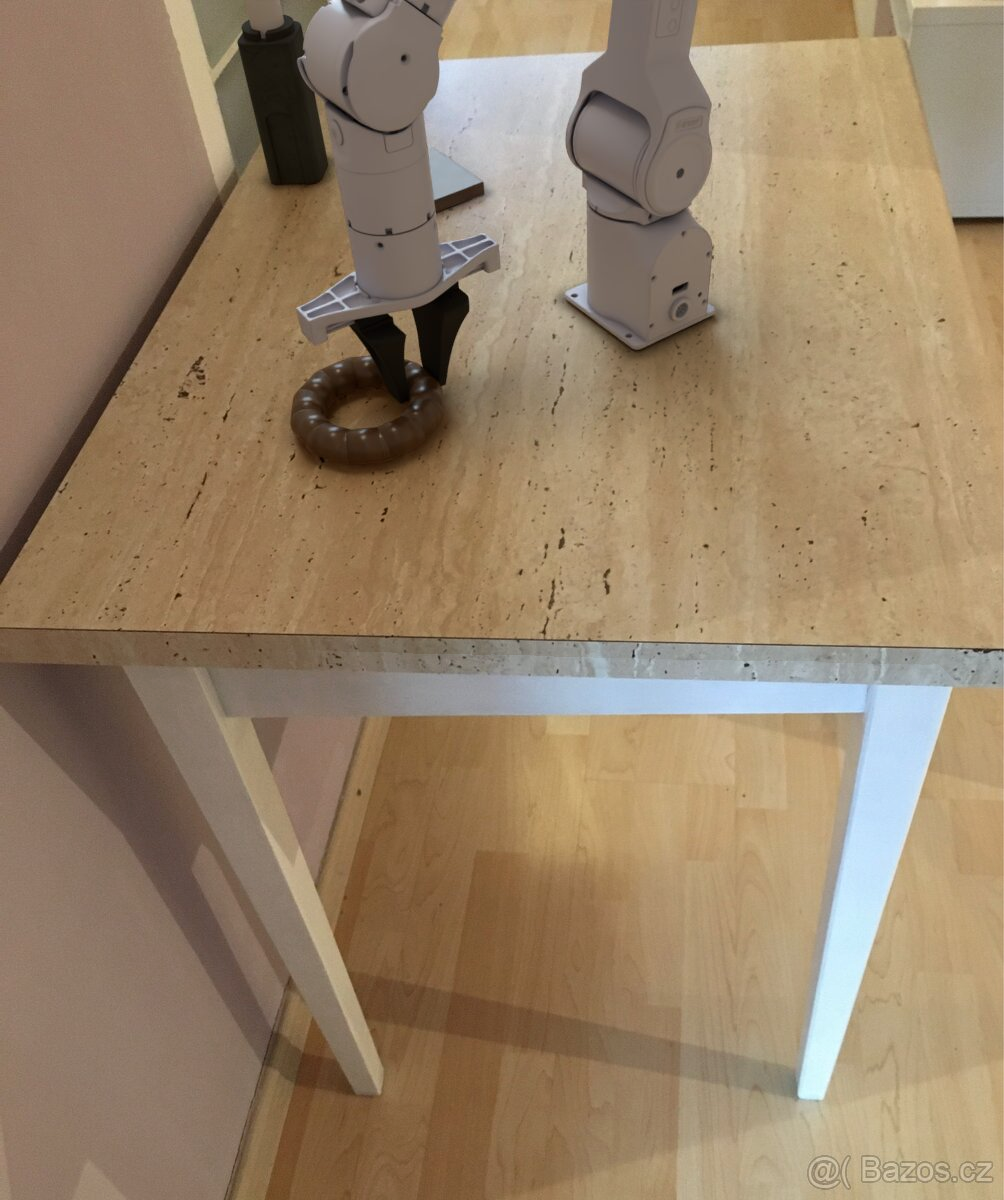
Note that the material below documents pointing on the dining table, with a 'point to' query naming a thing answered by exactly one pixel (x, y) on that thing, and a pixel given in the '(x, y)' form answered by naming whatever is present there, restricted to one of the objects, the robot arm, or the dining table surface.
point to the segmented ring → (364, 441)
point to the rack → (451, 181)
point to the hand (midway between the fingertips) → (417, 387)
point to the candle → (281, 95)
